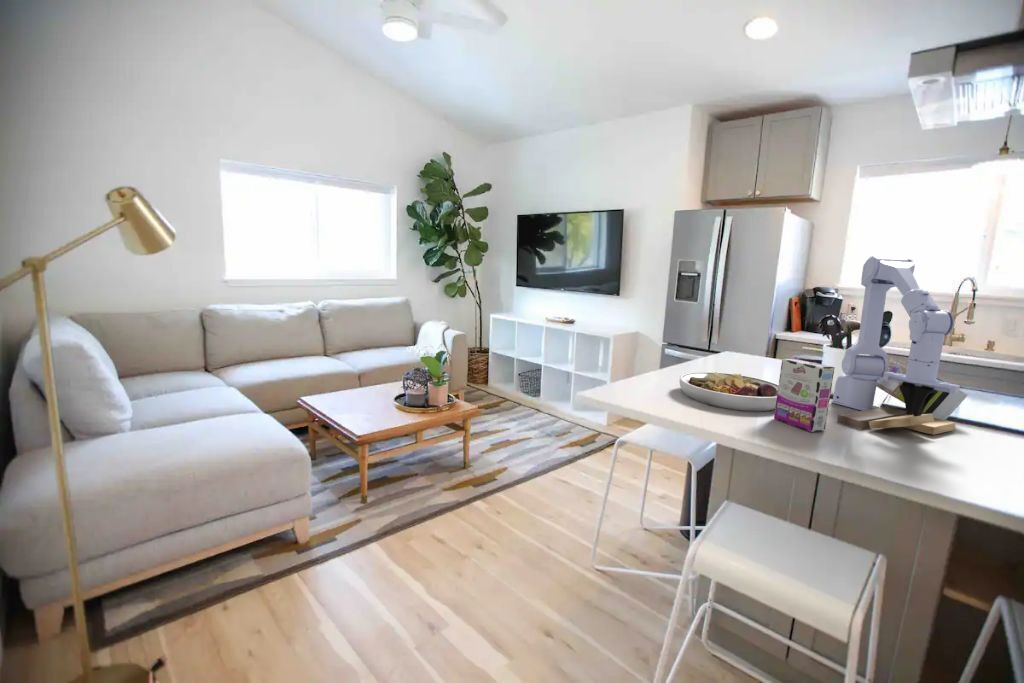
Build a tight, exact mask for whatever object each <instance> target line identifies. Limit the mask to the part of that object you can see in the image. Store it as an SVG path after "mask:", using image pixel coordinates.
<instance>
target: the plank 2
mask: <svg viewBox="0 0 1024 683" xmlns="http://www.w3.org/2000/svg"><path fill="white" fill-rule="evenodd" d="M912 415H913V414H912ZM904 416H911V415H904ZM898 417H900V416H898ZM955 427H956V422H954V421H949V420H941V419H936V418H934V421H933V422H928V423H923V424H918V425H914V426H904V427H902V428H904V429H908V430H912V431H916V432H921V433H924V434H928V435H933V436H935V435H938V434H943V433H947V432H951V431H955V430H956V429H955Z"/></svg>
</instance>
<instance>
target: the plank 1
mask: <svg viewBox="0 0 1024 683" xmlns="http://www.w3.org/2000/svg"><path fill="white" fill-rule="evenodd" d="M933 421H934V418H933V415H932V414H924V413H922V415H921V416H913V415H911V416H900V417H891V418H885V419H880V420H874V421H869V426H870V428H869V429H870V430H875V429H876V430H877V429H889V428H891V429H892V428H903V427H904V426H914V425H918V424H923V423H928V422H933Z"/></svg>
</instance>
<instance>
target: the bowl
mask: <svg viewBox="0 0 1024 683" xmlns="http://www.w3.org/2000/svg"><path fill="white" fill-rule="evenodd" d="M778 386H779V383H776V382H772V381H769V380H767V379H762V378H758V377H754V376H748V375H742V374H741V373H726V372H717V371H716V372H714V371H713V372H712V371H695V372H687V373H684V374H681V375H680V376H679V387H680V388H681V390H682V392H683V393H684V394H685V395H686V396H687V397H689V398H691V399H692V400H695V401H697V402H699V403H703V404H706V405H708V406H709V405H710V406H713V407H717V408H722V409H729V410H737V411H746V412H748V411H749V412H763V411H764V412H765V411H771V410H775V407H776V400H777V393H778Z"/></svg>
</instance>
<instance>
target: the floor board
mask: <svg viewBox="0 0 1024 683" xmlns="http://www.w3.org/2000/svg"><path fill="white" fill-rule="evenodd" d="M904 415H907V414H906V409H905V410H904V409H901V408H896V407H893V406H890V405H889V406H883V407H879V408H876V409H870V410H864V411H861V410H859V411H853V412H852V411H851V412H846V413H841V414H840V413H839V414H838V415H837V420H836V423H839V424H844V425H846V426H849V427H852V428H856V429H859V430H865V429H866V430H867V429H870V426H869V421H874V420H880V419H885V418H891V417H898V416H904Z"/></svg>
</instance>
